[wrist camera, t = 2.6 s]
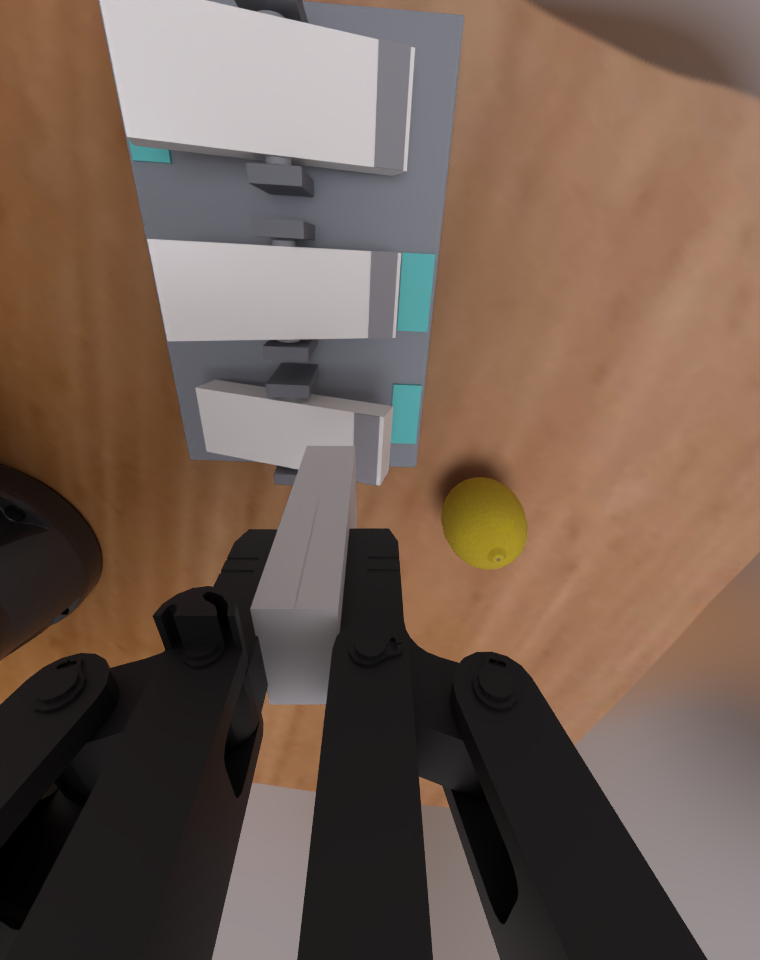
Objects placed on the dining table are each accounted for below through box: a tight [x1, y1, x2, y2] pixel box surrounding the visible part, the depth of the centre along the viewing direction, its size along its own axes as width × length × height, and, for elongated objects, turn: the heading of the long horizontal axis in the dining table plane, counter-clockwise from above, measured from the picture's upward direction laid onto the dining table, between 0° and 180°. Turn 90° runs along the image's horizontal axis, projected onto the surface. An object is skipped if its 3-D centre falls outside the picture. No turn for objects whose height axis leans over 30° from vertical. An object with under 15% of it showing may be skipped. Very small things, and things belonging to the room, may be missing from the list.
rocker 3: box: [195, 380, 393, 486], centre depth 21 cm, size 10×4×2 cm, turn 87°
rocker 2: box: [147, 239, 401, 343], centre depth 18 cm, size 10×4×2 cm, turn 87°
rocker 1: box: [100, 0, 415, 176], centre depth 15 cm, size 10×4×2 cm, turn 87°
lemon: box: [442, 477, 528, 569], centre depth 28 cm, size 6×6×8 cm
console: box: [98, 0, 464, 485], centre depth 21 cm, size 14×20×8 cm
